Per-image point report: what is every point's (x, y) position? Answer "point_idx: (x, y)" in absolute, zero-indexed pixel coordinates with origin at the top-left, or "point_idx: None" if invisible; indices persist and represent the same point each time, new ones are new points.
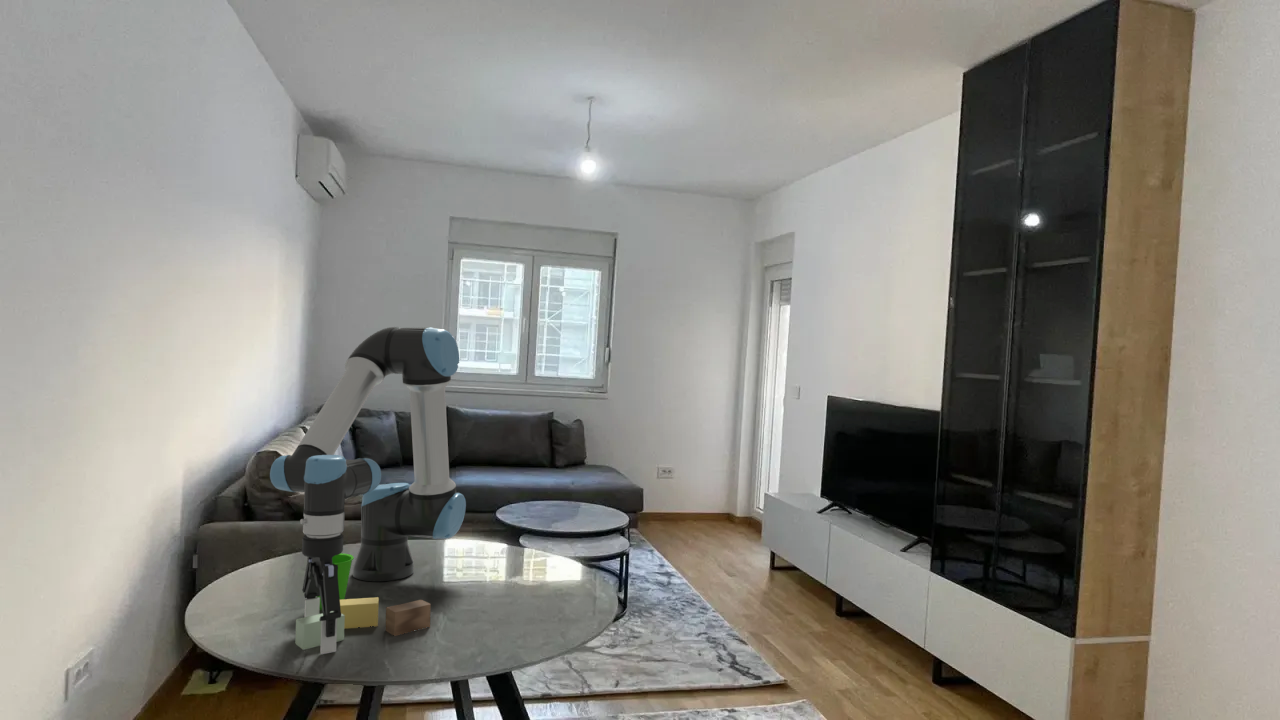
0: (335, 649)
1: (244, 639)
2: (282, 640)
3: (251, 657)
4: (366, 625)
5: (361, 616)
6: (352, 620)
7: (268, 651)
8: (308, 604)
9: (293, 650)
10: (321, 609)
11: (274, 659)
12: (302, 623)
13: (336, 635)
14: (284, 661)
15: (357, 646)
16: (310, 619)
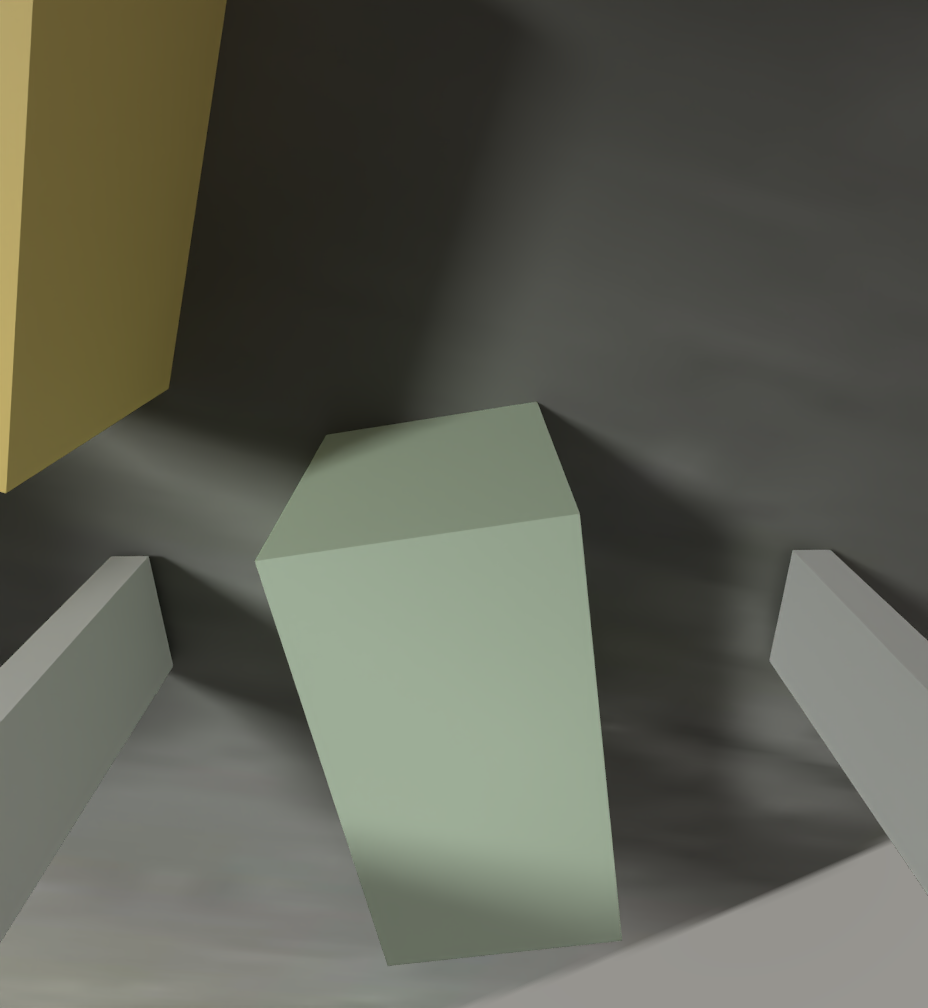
0: (839, 564)
1: (157, 967)
2: (285, 808)
3: (521, 970)
4: (213, 20)
5: (153, 79)
6: (156, 221)
7: None
8: (12, 887)
9: None
10: None
11: (643, 889)
12: (576, 944)
13: (924, 640)
14: (723, 852)
15: (811, 328)
16: (484, 871)
